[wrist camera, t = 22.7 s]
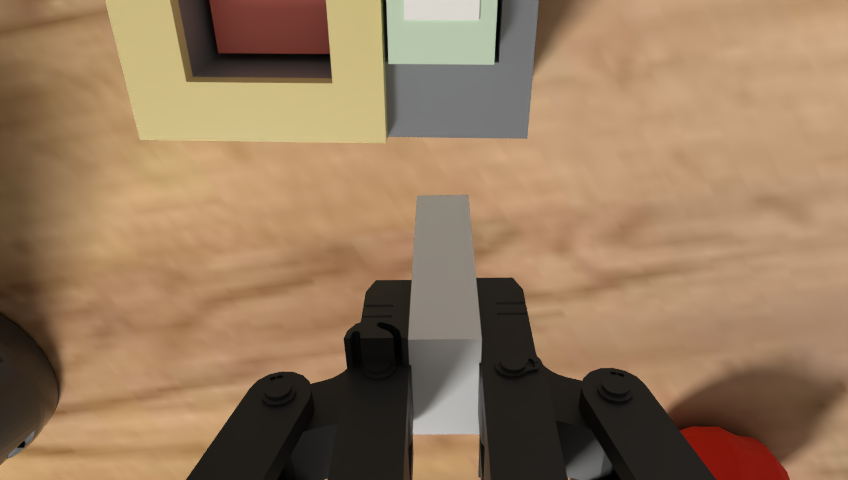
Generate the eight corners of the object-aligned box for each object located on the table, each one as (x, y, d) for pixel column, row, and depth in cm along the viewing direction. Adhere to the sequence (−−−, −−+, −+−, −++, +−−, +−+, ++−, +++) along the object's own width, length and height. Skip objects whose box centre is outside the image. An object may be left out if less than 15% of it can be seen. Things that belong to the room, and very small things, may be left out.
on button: (396, 40, 30) (388, 64, 26) (394, -63, 28) (384, -52, 24) (490, 41, 30) (494, 65, 26) (494, -62, 27) (500, -52, 24)
